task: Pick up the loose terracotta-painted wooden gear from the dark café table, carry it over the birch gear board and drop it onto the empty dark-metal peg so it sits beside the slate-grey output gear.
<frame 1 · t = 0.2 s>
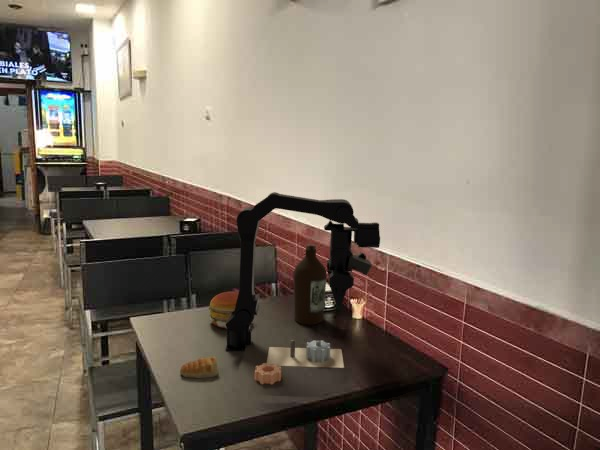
hand: (338, 301, 138), 14 cm above the table, fingers open, 9 cm apart
gear board: (305, 361, 133), on the table
pastry: (202, 374, 126), on the table
output gear: (317, 357, 133), resting on gear board
burger: (230, 324, 158), on the table
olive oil: (308, 320, 163), on the table
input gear: (267, 382, 122), on the table
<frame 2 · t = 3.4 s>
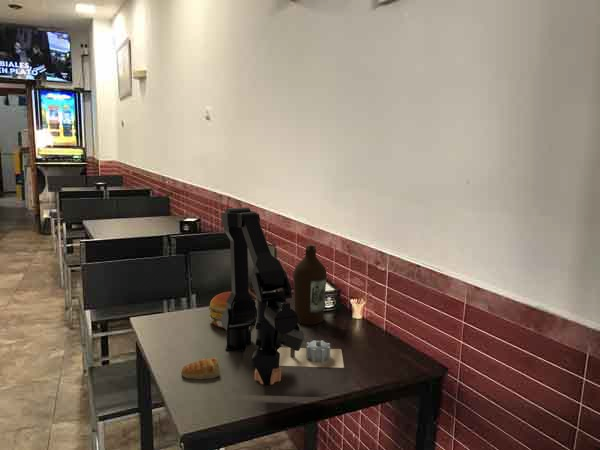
hand: (268, 378, 121), 1 cm above the table, fingers closed on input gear, 6 cm apart
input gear: (267, 382, 122), on the table, touching gripper
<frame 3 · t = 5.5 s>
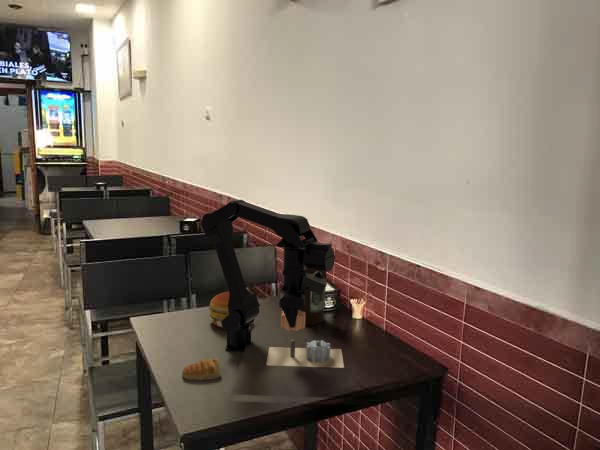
hand: (292, 322, 131), 11 cm above the table, fingers closed on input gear, 6 cm apart
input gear: (293, 326, 131), point 10 cm above the table, touching gripper
when the fingers open (4 cm above the table, at t = 7.6 s): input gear drops 2 cm, resting on gear board.
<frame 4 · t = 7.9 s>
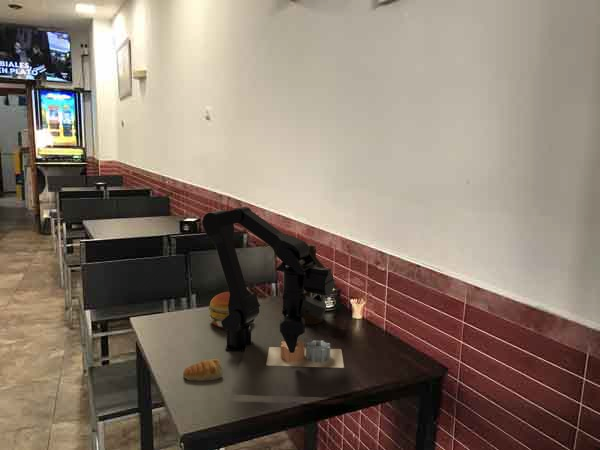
hand: (292, 344, 133), 4 cm above the table, fingers open, 9 cm apart
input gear: (292, 356, 133), point 1 cm above the table, touching gear board
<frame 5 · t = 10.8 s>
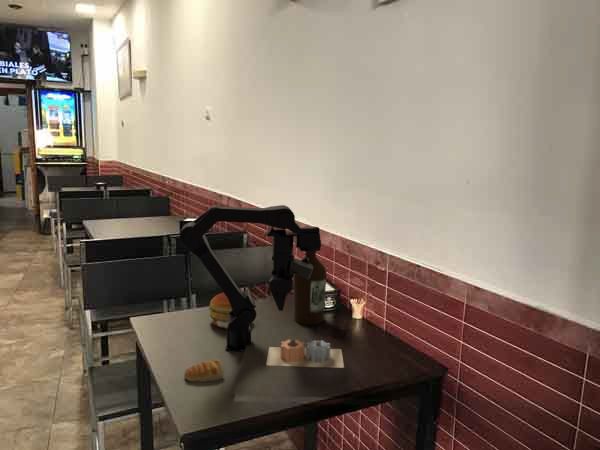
hand: (281, 304, 141), 12 cm above the table, fingers open, 9 cm apart
at the end: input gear 0.0 cm from the target spot on the gear board, point 1.2 cm above the gear board's base; the gripper is holding nothing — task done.
